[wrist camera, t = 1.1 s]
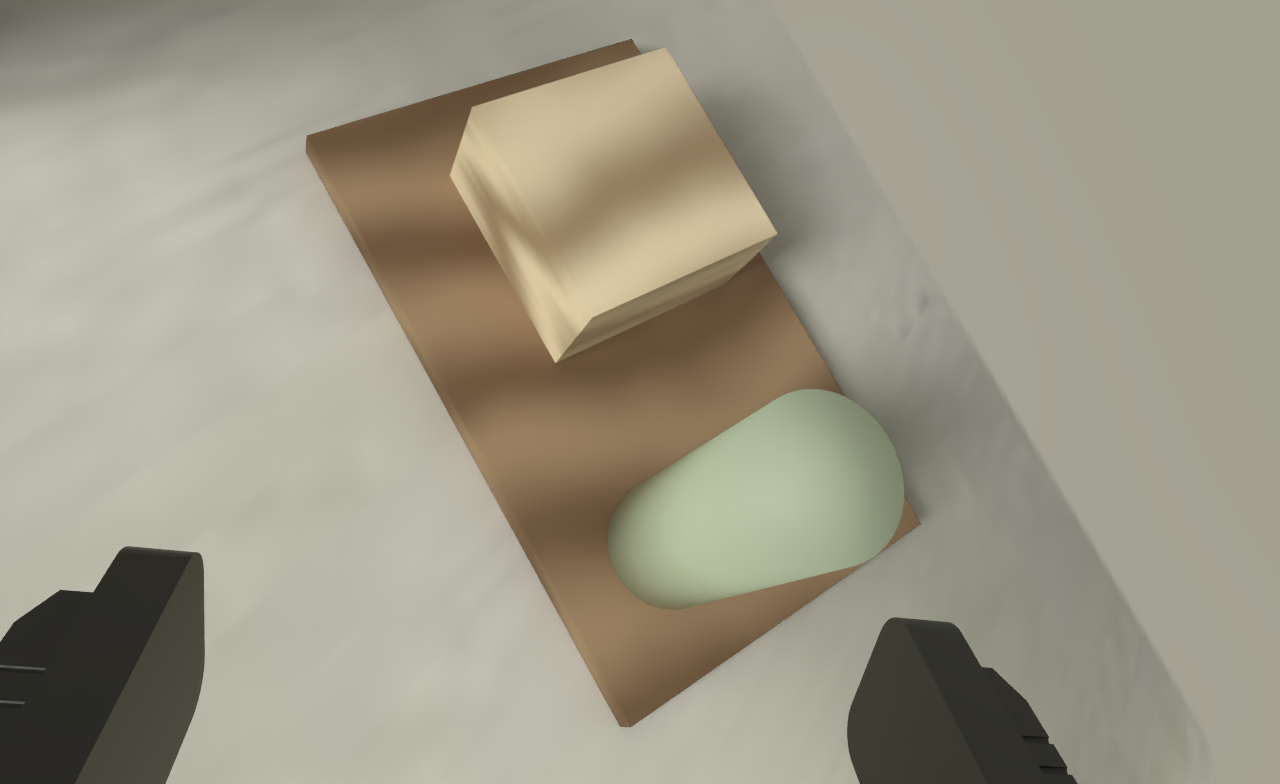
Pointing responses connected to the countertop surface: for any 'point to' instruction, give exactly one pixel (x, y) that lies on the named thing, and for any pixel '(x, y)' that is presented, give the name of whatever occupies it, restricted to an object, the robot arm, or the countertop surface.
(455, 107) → the walnut board
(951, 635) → the robot arm
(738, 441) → the sage cylinder
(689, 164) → the beech brick
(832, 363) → the countertop surface
